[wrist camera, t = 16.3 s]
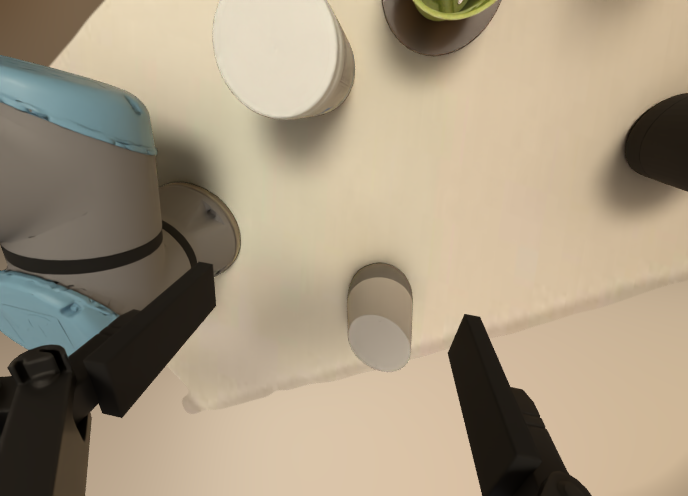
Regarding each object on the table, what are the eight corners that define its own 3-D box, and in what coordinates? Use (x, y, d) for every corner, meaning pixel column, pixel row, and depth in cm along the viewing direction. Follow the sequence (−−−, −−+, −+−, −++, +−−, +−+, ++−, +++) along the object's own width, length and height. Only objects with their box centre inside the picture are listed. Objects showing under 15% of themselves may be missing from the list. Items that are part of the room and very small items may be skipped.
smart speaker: (351, 254, 44) (337, 314, 32) (413, 258, 43) (425, 322, 31) (349, 305, 48) (337, 375, 36) (407, 310, 47) (414, 385, 35)
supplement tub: (287, 121, 37) (233, 132, 24) (264, 31, 33) (185, -15, 20) (363, 105, 35) (350, 107, 22) (349, 7, 31) (321, -62, 18)
